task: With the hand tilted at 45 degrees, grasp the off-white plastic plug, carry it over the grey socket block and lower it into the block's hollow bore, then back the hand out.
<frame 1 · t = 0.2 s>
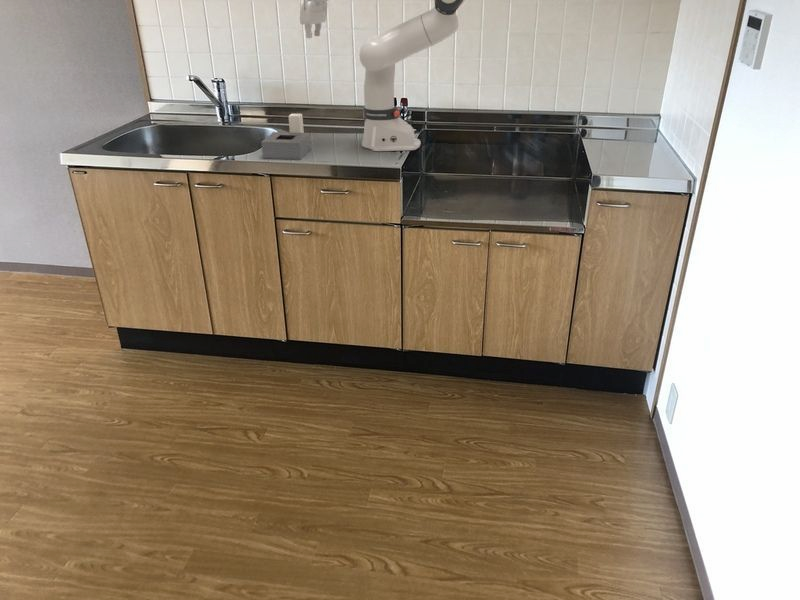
hand: (313, 37, 241), 38 cm above the worktop, tool pointing down, fingers open, 8 cm apart
grey socket block: (287, 153, 247), on the worktop
plug: (297, 143, 259), on the worktop
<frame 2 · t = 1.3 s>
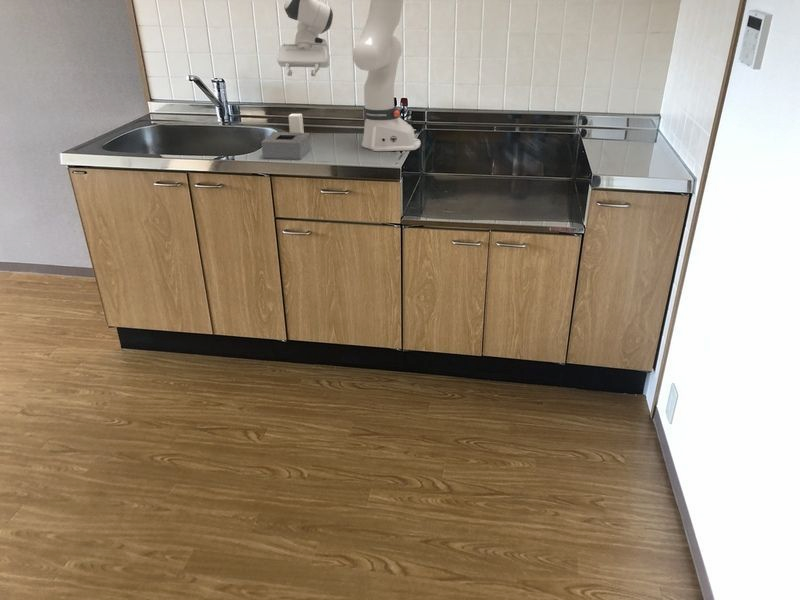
hand: (301, 75, 259), 23 cm above the worktop, tool tilted 45°, fingers open, 8 cm apart
nothing on the worktop moved.
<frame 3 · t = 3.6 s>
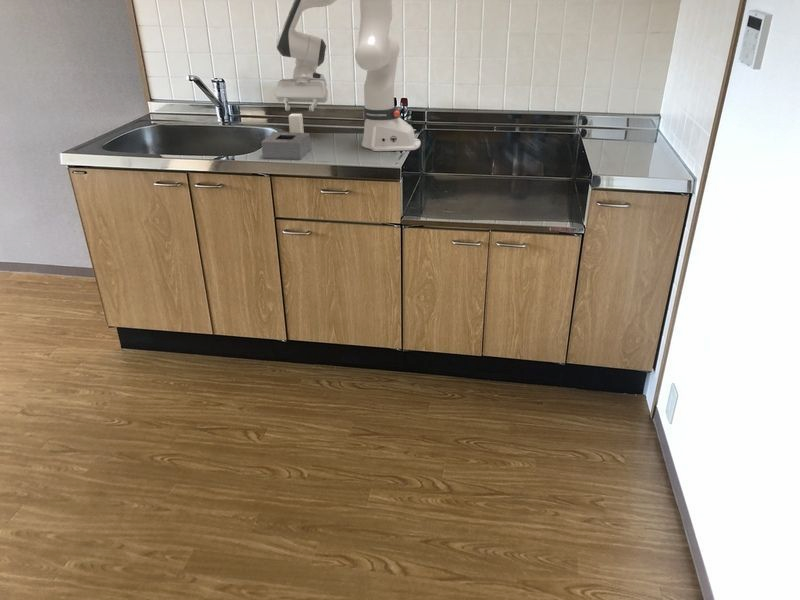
hand: (299, 110, 258), 11 cm above the worktop, tool tilted 45°, fingers open, 8 cm apart
nothing on the worktop moved.
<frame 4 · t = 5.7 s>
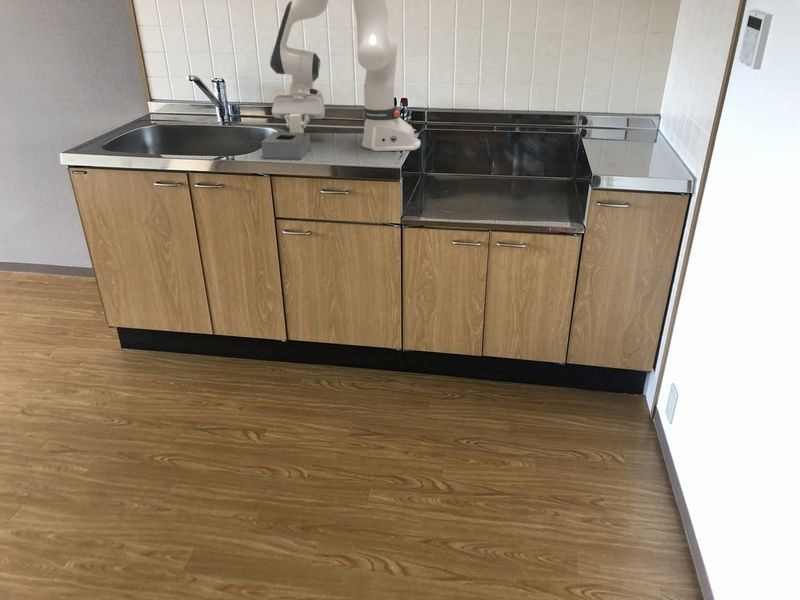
hand: (295, 126, 255), 7 cm above the worktop, tool tilted 45°, fingers closed on plug, 4 cm apart
plug: (297, 143, 259), on the worktop, touching gripper
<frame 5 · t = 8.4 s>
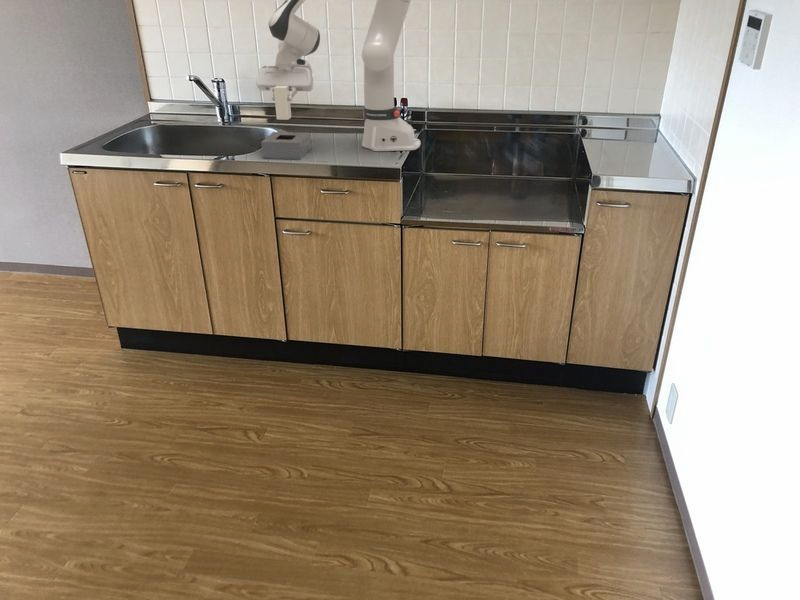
hand: (281, 99, 237), 19 cm above the worktop, tool tilted 45°, fingers closed on plug, 4 cm apart
plug: (284, 118, 241), point 13 cm above the worktop, touching gripper
when the fingers open (9 cm above the worktop, at t = 11.4 s): plug drops 2 cm, resting in grey socket block.
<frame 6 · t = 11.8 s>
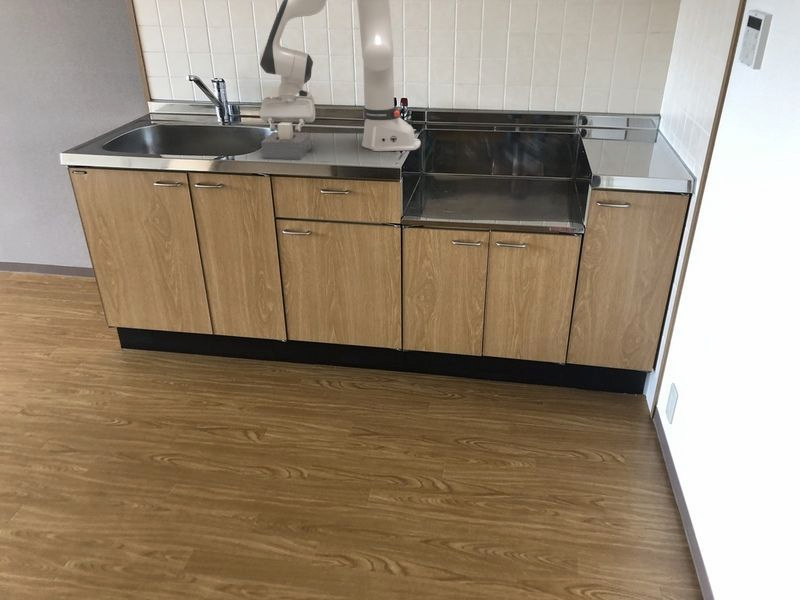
hand: (284, 130, 242), 9 cm above the worktop, tool tilted 45°, fingers open, 8 cm apart
plug: (287, 153, 247), resting in grey socket block
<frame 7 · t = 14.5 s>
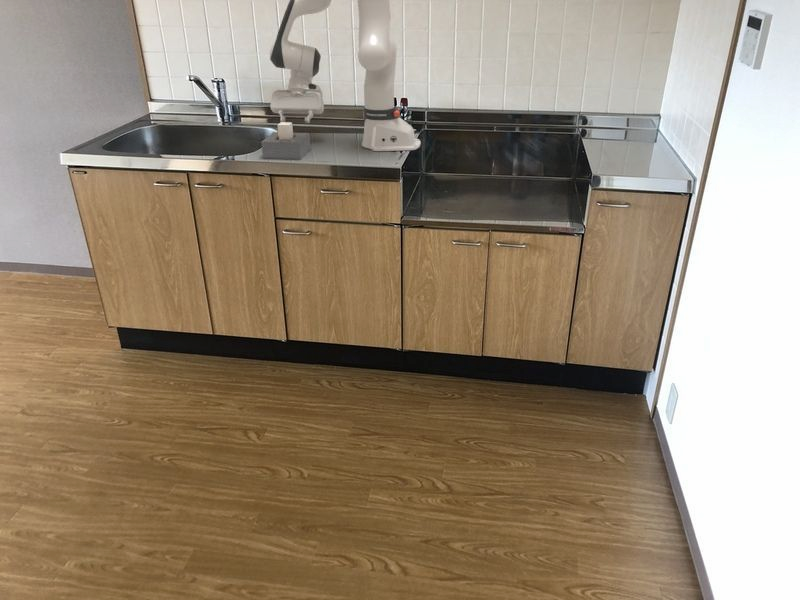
hand: (294, 122, 253), 9 cm above the worktop, tool tilted 45°, fingers open, 8 cm apart
nothing on the worktop moved.
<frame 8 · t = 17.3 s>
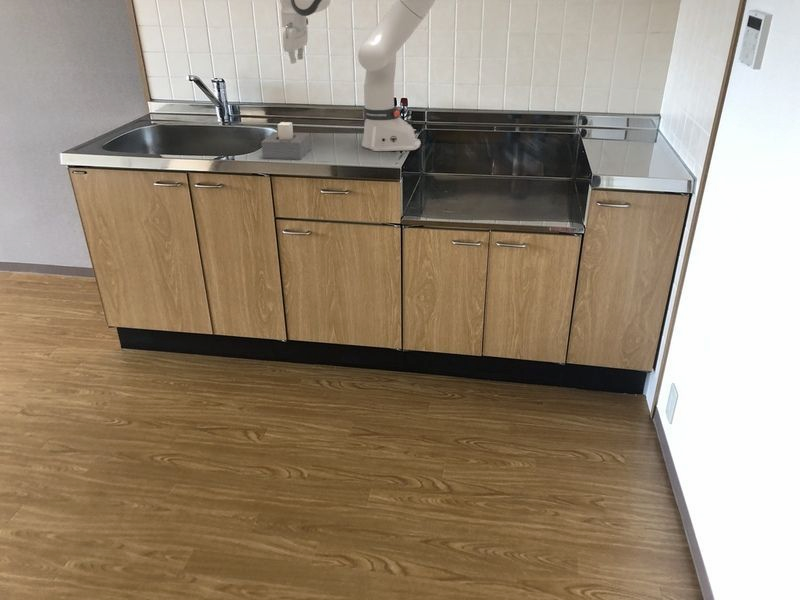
hand: (297, 61, 252), 29 cm above the worktop, tool pointing down, fingers open, 8 cm apart
nothing on the worktop moved.
at the end: plug 0.1 cm off-centre on the grey socket block, point 0.0 cm above the grey socket block's base; plug tilted 0°; the gripper is holding nothing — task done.
